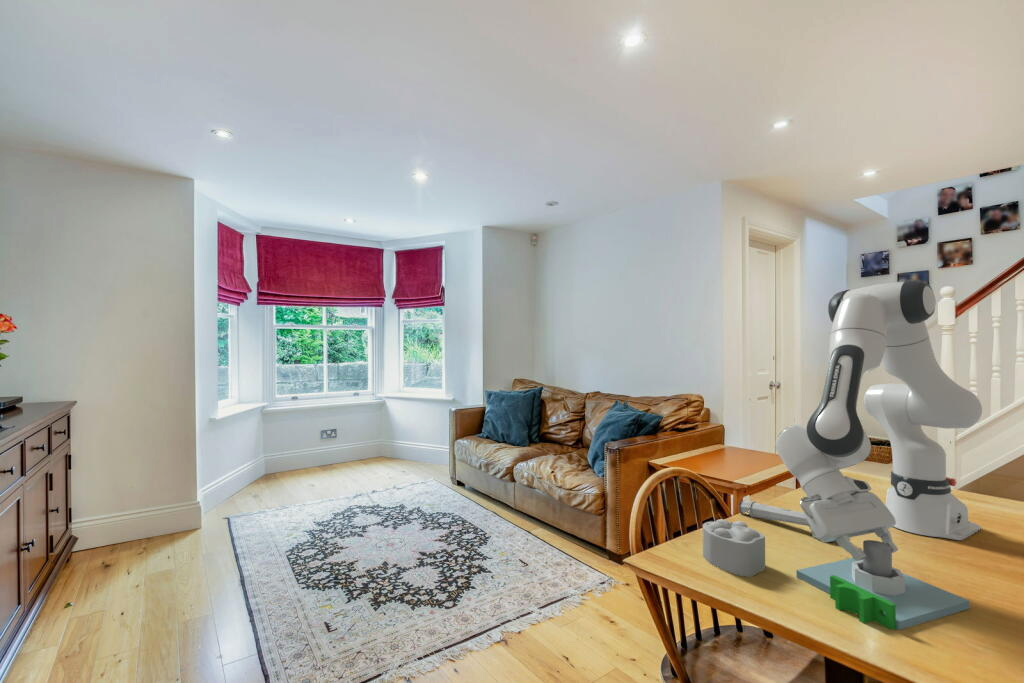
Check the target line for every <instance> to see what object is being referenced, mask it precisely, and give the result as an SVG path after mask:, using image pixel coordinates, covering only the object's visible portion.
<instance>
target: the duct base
mask: <svg viewBox="0 0 1024 683" xmlns="http://www.w3.org/2000/svg"><path fill="white" fill-rule="evenodd" d="M832 575H835V576H837V577H839V578H841V579H844V580H846V581H848V582H850V583H852V584H854V585H856V586H858V587H860V588H862V589H864V590H867V591H869V592H871V593H873V594H875V595H877V596H879V597H881V598H883V599H885V600H888V601H890V602H892V603H894V604H896V629H895V630H897V631H901V630H904V629H908V628H911V627H914V626H917V625H920V624H921V625H922V624H925V623H926V622H930V621H933V620H938V619H940V618H944V617H946V616H950V615H954V614H956V613H959V612H963V611H966V610H970V609H971V606H970V605H971V604H970V603H971V602H970V600H969V599H967V598H964V597H961V596H959V595H958V594H954V593H952V592H950V591H947V590H945V589H942V588H940V587H938V586H935V585H933V584H931V583H927V582H925V581H923V580H921V579H918V578H916V577H914V576H911V575H909V574H906V573H904V572H902V571H901V570H900V569H898V568H895V567H893V566H892V578H887V577H881V576H875V575H872V574H869V573H867V572H865V571H863V559H862V560H859V561H856V560H854V558H853V557H850V558H846V559H840V560H837V561H832V562H827V563H823V564H818V565H813V566H808V567H806V568H805V567H803V568H800V569H796V578H798V579H799V580H801V581H803V582H806V583H807V584H809V585H811V586H813V587H815V588H816V589H819V590H820V591H823V592H825V593H827V594H829V595H830V576H832ZM883 612H884V611H883ZM884 614H885V612H884ZM885 615H886V614H885Z"/></svg>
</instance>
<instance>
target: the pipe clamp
mask: <svg viewBox="0 0 1024 683" xmlns="http://www.w3.org/2000/svg"><path fill="white" fill-rule="evenodd" d="M829 595H830V596H829V598H830V599H832V600H833V601H835V606H834V607H835V609H836V610H837V611H848V612H851V613H854V614H855V615H858V618H859V622H860V623H862V624H867V623H870V622H875V623H877V624H879V625H880V626H883V627H885V628H887V629H889V630H890V631H893V630H897V629H896V604H894V603H892V602H890V601H888V600H885V599H883V598H881V597H879V596H877V595H875V594H873V593H871V592H869V591H867V590H864V589H862V588H860V587H858V586H856V585H854V584H852V583H850V582H848V581H846V580H844V579H841V578H839V577H837V576H835V575H832V576H830V594H829ZM883 611H884V612H885V614H886V615H885V614H884V612H883Z"/></svg>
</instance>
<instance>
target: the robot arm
mask: <svg viewBox="0 0 1024 683" xmlns="http://www.w3.org/2000/svg"><path fill="white" fill-rule="evenodd" d="M936 301H937V300H936V295H935V292H934V290H933V288H932V287H931V285H930V284H928V283H927V282H925V281H923V280H905V281H902V282H901V281H898V282H886V283H885V282H884V283H875V284H873V285H869V286H868V285H867V286H864V287H863V286H862V287H858V288H855V289H846V290H845V289H844V290H842V291H839V292H837V293H835V294H834V295H833V296H832V297H831V298H830V300H829V301H828V307H827V308H828V309H827V312H828V316H829V320H830V321H831V323H832V325H831V329H830V333H829V334H830V335H829V341H828V342H829V343H828V368H827V372H826V378H825V381H824V382H825V383H824V388H823V392H822V396H821V400H820V402H819V404H818V406H817V408H816V409H815V410H814V411H813V413H812V415H811V416H810V417H809V419H808V421H807V424H806V425H799V424H793V425H790V426H788V427H786V428H785V429H783V430H782V431H781V432H780V433H779V434H778V435H777V438H776V439H775V444H774V445H775V449H776V451H777V454H778V455H779V458H780V459H781V460H782V462H783V463H784V465H785V467H786V469H787V470H788V471H789V473H790V474H791V475H792V476H793V477H795V478H796V480H797V481H798V483H799V484H800V487H801V489H802V491H803V493H805V495H806V496H803V497H801V498H800V501H799V506H800V508H801V509H802V511H803V513H804V515H805V517H806V519H807V521H808V523H809V525H810V527H811V528H812V530H813V532H814V533H815V535H816V536H817V538H818V539H820V540H819V541H821V542H822V543H829V542H830V541H831V542H836V543H837V545H838V546H839V547H840V548H842V549H843V550H845V551H846V552H847V553H849V554H850V556H851V558H854V560H856V561H859V560H862V559H864V558H866V555H865V553H863V548H861V547H860V548H859V547H857V546H856V545H855V544H853V543H852V542H851V538H853V537H859V536H865V535H869V534H875V535H876V536H877V537H878V538H880V540H881V542H883V543H886V544H888V545H890V546H891V547H892V554H893V553H896V552H898V551H899V548H898V547H897V545H896V543H894V541H893V538H892V534H891V531H890V530H889V529H891V528H892V527H893V528H896V529H899V530H901V531H905V532H908V533H910V534H911V533H912V534H916V535H920V536H926V537H935V538H943V539H950V540H955V541H963V540H965V539H967V538H969V537H971V536H972V535H974V534H976V533H977V532H979V531H981V530H980V529H981V525H979V524H977V523H975V522H973V521H970V520H969V511H968V510H969V509H968V507H967V505H966V504H965V503H963V502H962V501H961V500H960V499H959V498H957V497H956V496H955V495H954V494H953V493H952V489H951V487H956V485H957V480H956V479H955V478H953V477H948V476H947V464H946V463H947V454H946V451H945V448H943V446H942V445H941V444H939V443H938V442H937V441H935V440H933V439H932V438H930V437H929V436H927V435H926V433H925V432H924V431H923V428H922V426H925V427H931V428H932V427H933V428H939V429H969V428H971V427H973V426H975V425H976V424H977V423H978V422H979V421H980V419H981V417H982V413H983V407H982V403H981V400H980V399H979V397H977V395H976V394H975V393H973V392H972V391H971V390H969V389H966V388H964V387H963V386H961V385H959V384H958V383H957V382H955V381H954V380H953V379H951V377H949V376H948V375H947V374H946V372H944V370H943V369H942V368H941V367H940V365H939V364H938V360H937V359H936V356H935V353H934V350H933V346H932V342H931V339H930V335H929V331H928V327H927V325H926V322H925V321H927V320H928V319H930V318H931V317H932V316H933V315H934V314H935V309H936ZM880 364H881V365H882V368H883V370H884V371H885V372H887V373H888V374H889V375H890V376H893V377H894V378H896V379H898V380H900V381H902V382H903V383H900V382H898V383H896V382H889V383H888V382H887V383H877V384H873V385H871V386H869V388H868V389H866V391H865V393H864V395H863V400H862V401H863V406H864V408H865V409H864V410H865V411H866V412H867V413H868V414H869V415H870V416H871V417H873V418H874V419H875V420H876V421H878V423H879V424H880V426H881V427H882V428H883V430H884V431H885V433H886V435H887V437H888V440H889V442H890V446H891V447H890V448H891V457H892V460H891V461H892V470H891V471H890V478H889V479H890V485H891V487H888V488H887V491H886V500H885V503H884V502H883V501H882V499H881V498H879V496H878V495H876V494H875V493H874V492H871V490H872V487H871V486H870V484H869V483H868V482H867V481H865V480H862V479H856V478H854V477H853V478H852V477H850V476H847V475H844V473H843V472H841V471H840V470H842V469H846V468H849V467H852V466H856V465H859V464H861V463H863V462H865V461H866V460H867V459H868V457H869V456H870V455H871V451H872V443H871V440H870V438H869V436H868V434H867V433H866V431H865V430H864V429H863V428H864V427H863V425H862V422H861V420H860V418H859V415H858V411H857V406H858V405H857V404H858V399H859V394H860V390H861V389H860V388H861V382H862V378H863V376H864V375H865V373H870V372H872V371H874V370H876V369H877V368H878V367H879V366H880ZM978 530H979V531H978ZM975 532H976V533H975ZM817 538H816V539H817ZM818 539H817V540H818ZM835 540H836V541H835Z"/></svg>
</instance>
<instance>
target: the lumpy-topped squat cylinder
mask: <svg viewBox="0 0 1024 683" xmlns="http://www.w3.org/2000/svg"><path fill="white" fill-rule="evenodd" d="M702 557H703V559H704V558H705V559H706V560H707V561H708V562H709V563H710V564H709V563H708V562H707V561H706V560H705V559H704V560H705V561H706V562H707V563H708V564H709V565H711V564H712V565H711V566H713V565H714V567H715V566H716V567H715V568H717V567H718V568H717V569H719V568H720V570H722V571H724V570H725V571H724V572H727V571H728V572H727V573H729V572H730V573H729V574H732V573H733V574H732V575H735V574H736V576H738V575H739V576H738V577H743V576H746V577H745V578H751V576H752V577H754V576H756V574H757V573H760V572H763V571H765V570H766V536H765V535H764V533H761V532H760V531H758V530H755V529H753V528H751V527H749V526H748V524H746V523H745V522H744V521H741V520H736V521H733V522H731V521H728V520H726V519H722V518H720V519H717V520H715V521H713V520H710V521H706V522H704V523H703V524H702ZM753 575H754V576H753Z"/></svg>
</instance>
